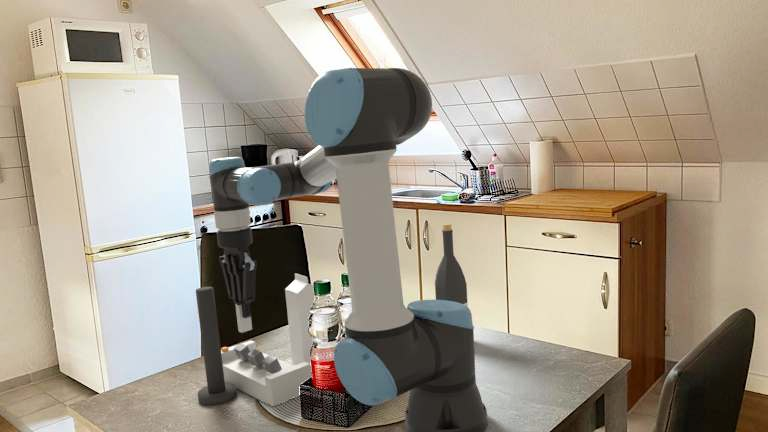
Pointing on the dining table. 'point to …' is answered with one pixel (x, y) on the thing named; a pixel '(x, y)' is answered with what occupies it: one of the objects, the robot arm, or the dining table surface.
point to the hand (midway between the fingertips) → (245, 330)
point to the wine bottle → (450, 273)
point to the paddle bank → (257, 358)
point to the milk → (299, 318)
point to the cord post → (212, 352)
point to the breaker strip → (263, 377)
